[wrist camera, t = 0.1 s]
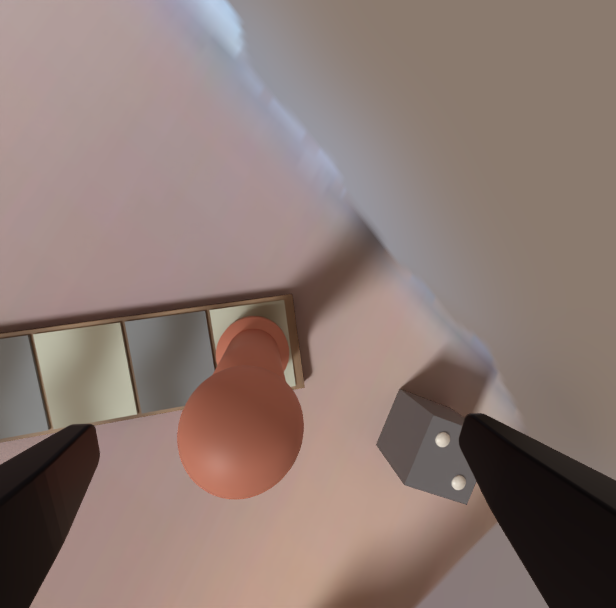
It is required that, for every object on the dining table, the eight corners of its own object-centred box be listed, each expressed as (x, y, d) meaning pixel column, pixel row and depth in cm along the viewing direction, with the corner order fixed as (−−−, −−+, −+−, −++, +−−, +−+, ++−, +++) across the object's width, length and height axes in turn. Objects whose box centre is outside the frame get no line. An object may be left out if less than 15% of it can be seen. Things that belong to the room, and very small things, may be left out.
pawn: (256, 395, 21) (245, 581, 8) (204, 352, 21) (98, 481, 7) (301, 345, 22) (361, 447, 8) (251, 301, 21) (230, 336, 8)
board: (290, 293, 22) (292, 294, 21) (302, 383, 23) (304, 388, 22) (-60, 341, 19) (-80, 345, 18) (-35, 443, 20) (-53, 453, 19)
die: (426, 461, 25) (467, 505, 20) (375, 444, 25) (405, 486, 19) (449, 407, 25) (495, 438, 20) (399, 388, 24) (434, 415, 19)
